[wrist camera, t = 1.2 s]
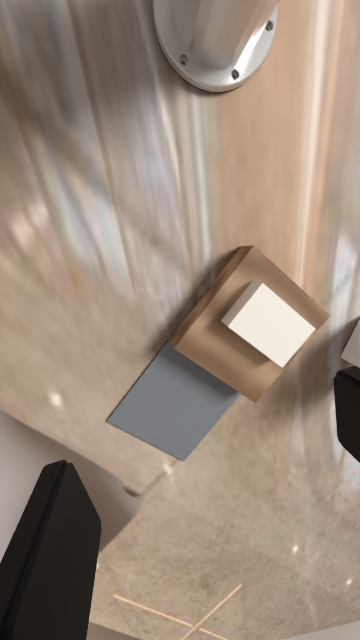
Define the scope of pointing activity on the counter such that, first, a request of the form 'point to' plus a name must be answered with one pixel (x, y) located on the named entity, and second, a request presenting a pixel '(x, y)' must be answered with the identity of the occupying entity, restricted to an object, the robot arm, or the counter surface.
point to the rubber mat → (173, 403)
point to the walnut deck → (227, 346)
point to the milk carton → (353, 347)
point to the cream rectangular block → (268, 323)
